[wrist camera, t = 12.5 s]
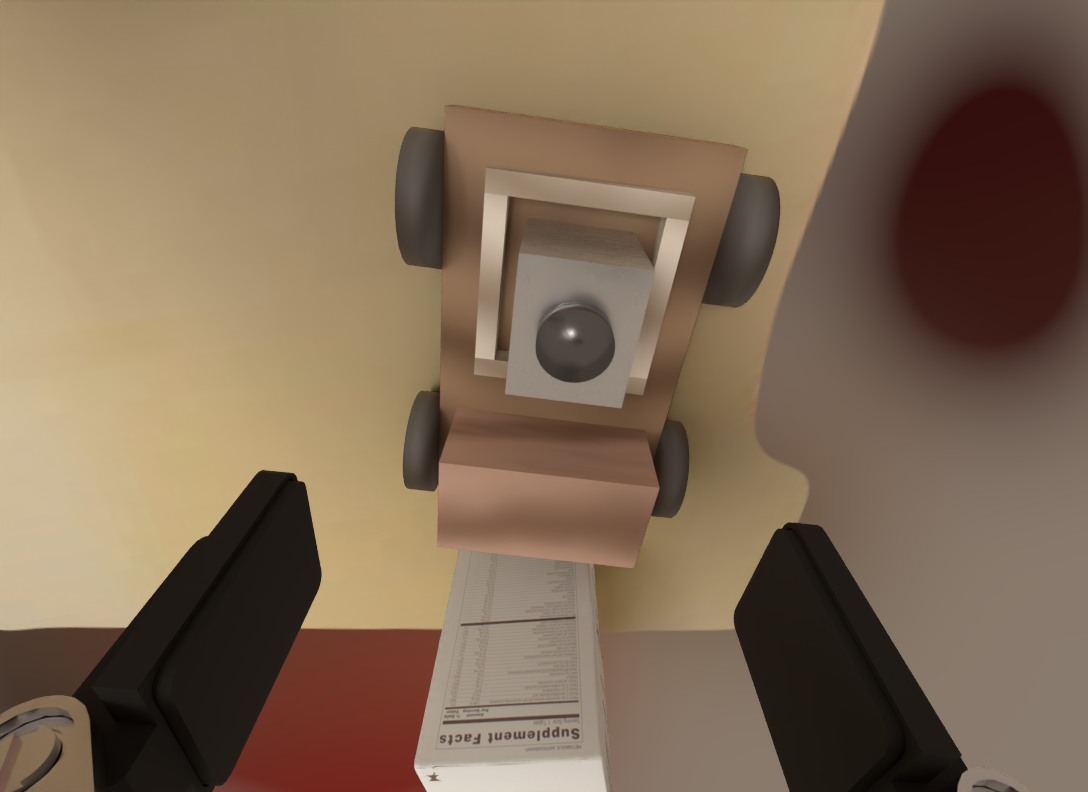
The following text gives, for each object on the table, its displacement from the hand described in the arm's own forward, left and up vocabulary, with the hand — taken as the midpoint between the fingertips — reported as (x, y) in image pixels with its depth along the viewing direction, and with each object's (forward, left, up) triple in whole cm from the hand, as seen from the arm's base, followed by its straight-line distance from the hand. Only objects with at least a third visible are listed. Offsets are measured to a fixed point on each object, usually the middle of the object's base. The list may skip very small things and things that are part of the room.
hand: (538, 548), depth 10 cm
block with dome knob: (0, +1, -17) cm, 17 cm away
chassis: (+4, +1, -20) cm, 21 cm away
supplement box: (+23, +2, -21) cm, 31 cm away
